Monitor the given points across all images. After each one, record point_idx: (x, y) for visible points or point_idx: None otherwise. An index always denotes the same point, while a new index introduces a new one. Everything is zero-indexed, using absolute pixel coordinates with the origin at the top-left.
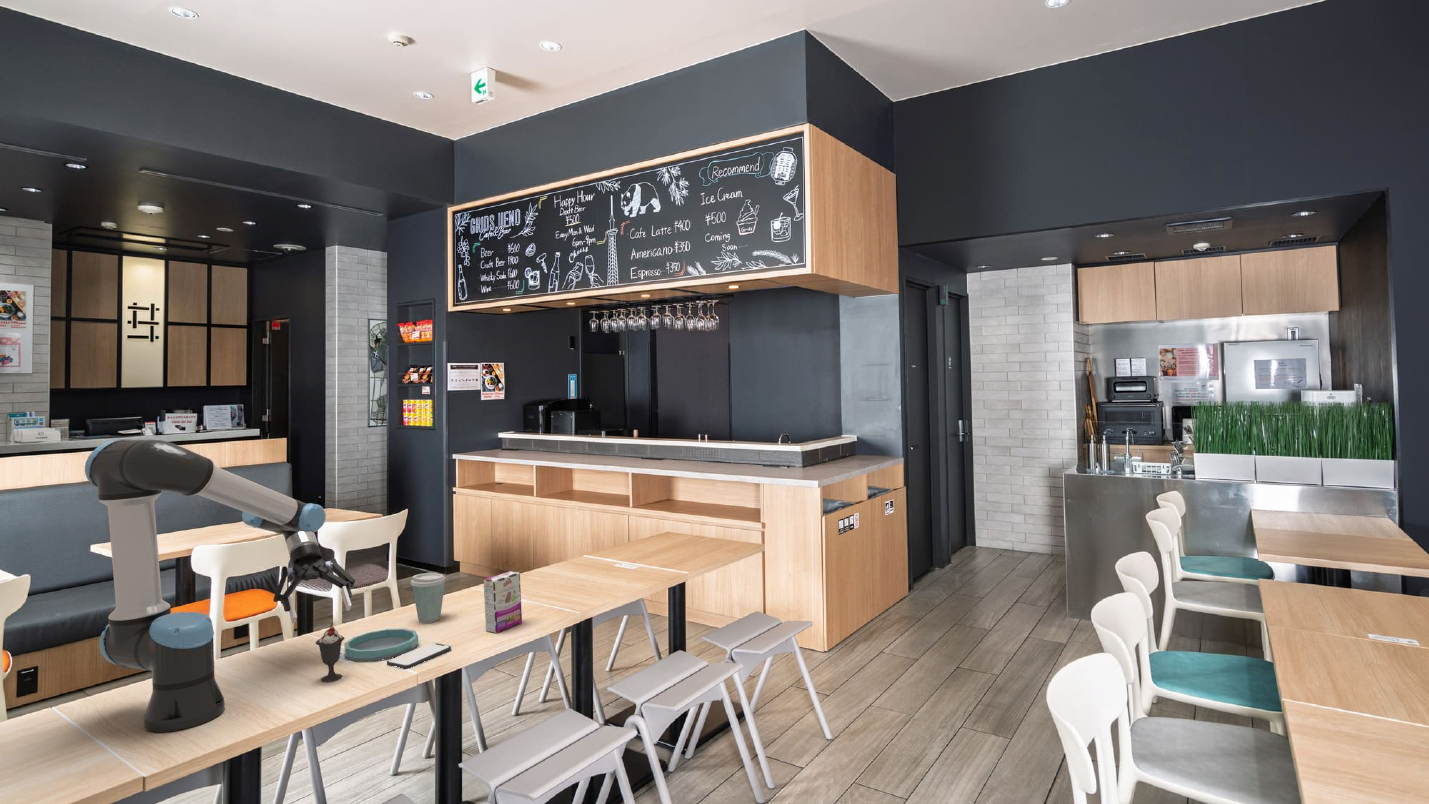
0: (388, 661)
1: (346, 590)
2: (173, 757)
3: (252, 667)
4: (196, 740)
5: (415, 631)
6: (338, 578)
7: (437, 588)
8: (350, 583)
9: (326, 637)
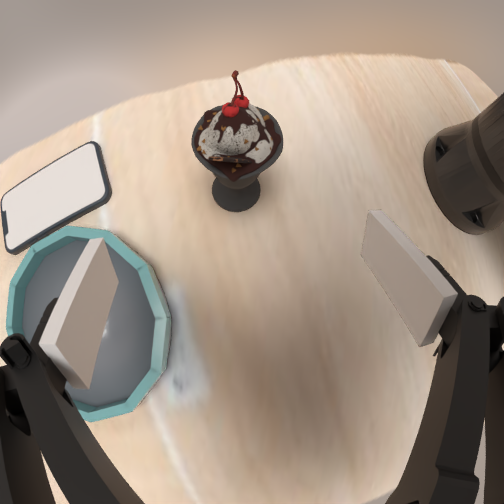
0: (105, 191)
1: (55, 310)
2: (436, 73)
3: (379, 410)
4: (429, 92)
5: (6, 320)
6: (44, 426)
7: None
8: (9, 371)
9: (254, 107)
